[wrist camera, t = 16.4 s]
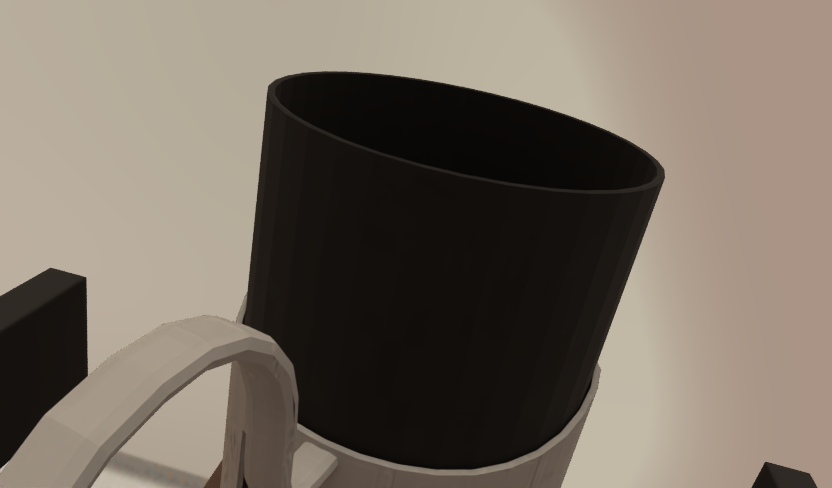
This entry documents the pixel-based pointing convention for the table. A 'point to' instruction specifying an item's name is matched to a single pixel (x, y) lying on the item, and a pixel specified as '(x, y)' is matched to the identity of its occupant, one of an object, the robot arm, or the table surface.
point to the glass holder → (394, 298)
